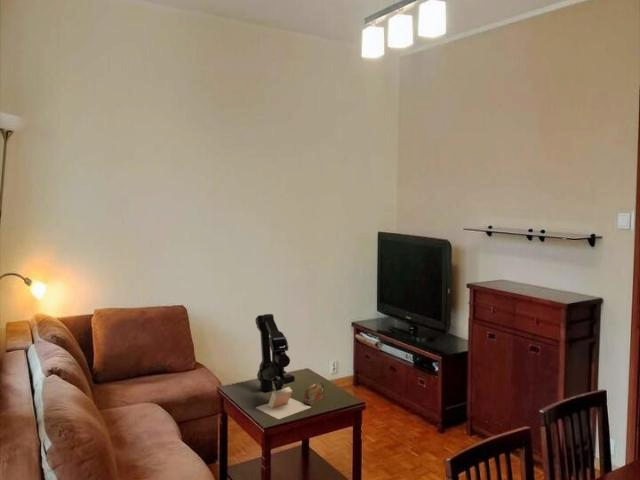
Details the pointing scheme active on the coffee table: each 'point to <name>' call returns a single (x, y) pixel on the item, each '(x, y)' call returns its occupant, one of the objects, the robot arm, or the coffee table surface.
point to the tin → (314, 393)
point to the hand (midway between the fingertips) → (278, 392)
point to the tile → (280, 397)
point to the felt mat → (284, 409)
